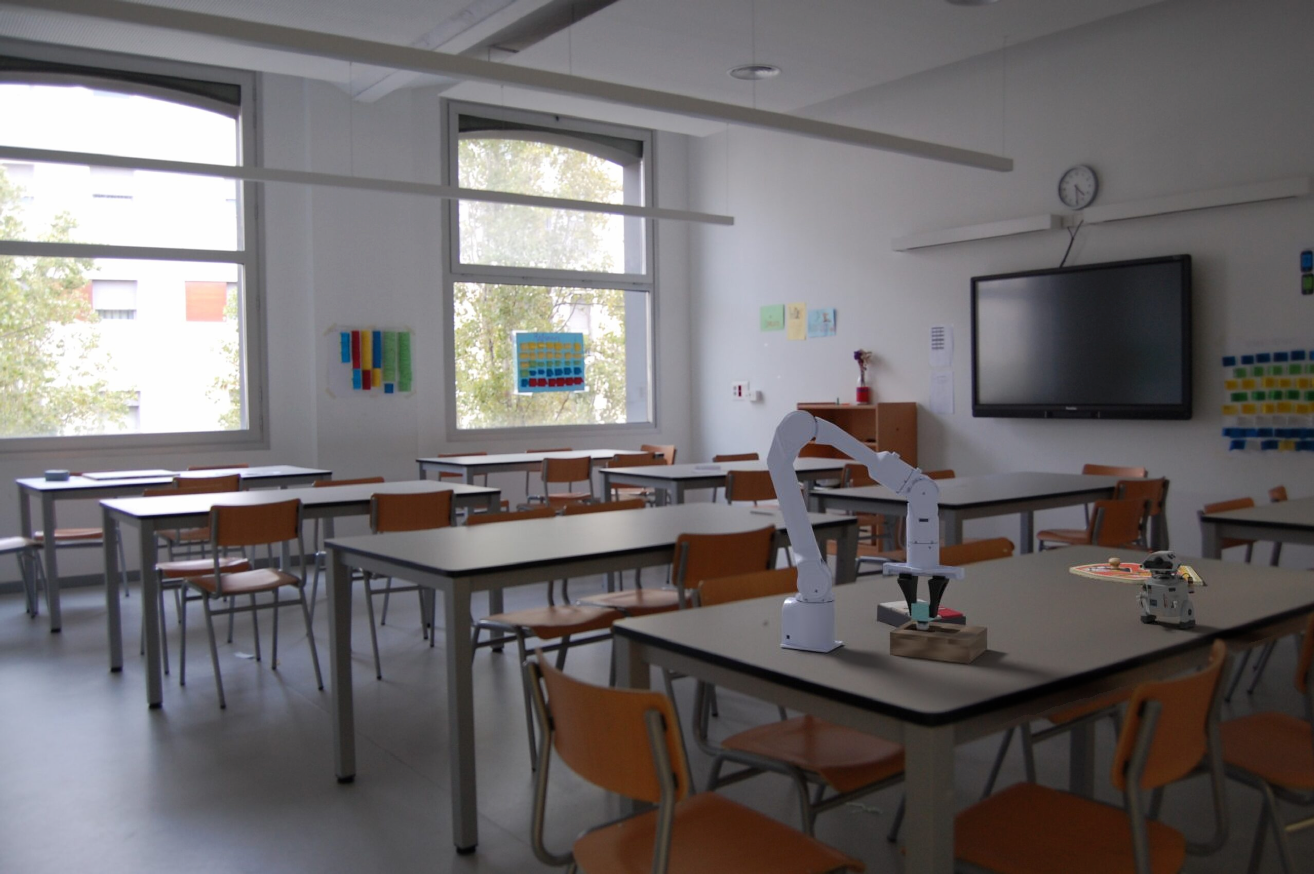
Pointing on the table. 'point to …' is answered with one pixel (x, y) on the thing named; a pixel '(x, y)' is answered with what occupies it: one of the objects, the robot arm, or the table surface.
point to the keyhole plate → (939, 641)
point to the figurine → (1166, 590)
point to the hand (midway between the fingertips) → (923, 616)
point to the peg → (921, 615)
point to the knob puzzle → (1127, 572)
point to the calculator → (900, 615)
